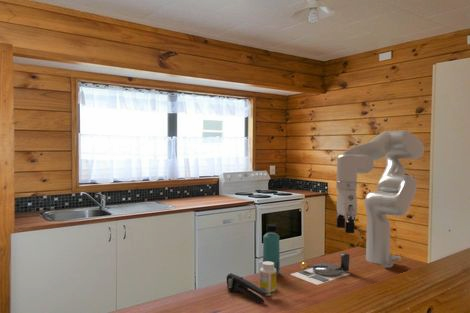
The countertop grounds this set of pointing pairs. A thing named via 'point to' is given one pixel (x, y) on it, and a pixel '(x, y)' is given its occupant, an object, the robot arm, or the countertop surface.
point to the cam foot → (330, 267)
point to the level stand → (316, 276)
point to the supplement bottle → (268, 278)
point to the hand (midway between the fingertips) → (345, 230)
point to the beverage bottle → (271, 247)
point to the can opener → (244, 287)
